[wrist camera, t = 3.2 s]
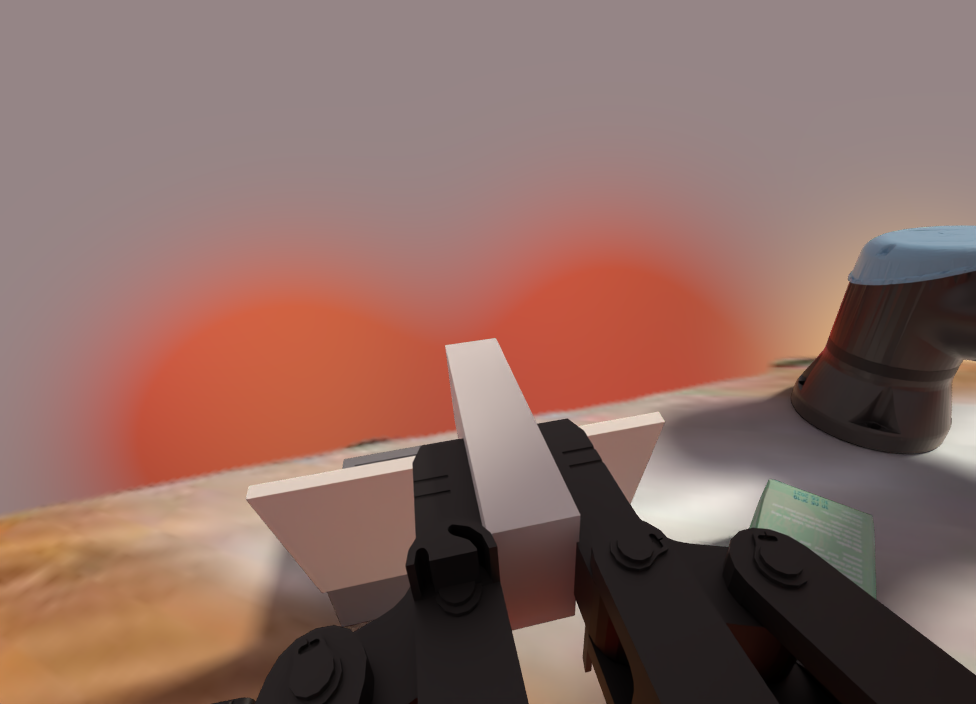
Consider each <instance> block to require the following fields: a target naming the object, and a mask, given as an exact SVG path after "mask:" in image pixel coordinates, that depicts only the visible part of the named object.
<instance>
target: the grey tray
mask: <svg viewBox="0 0 976 704" xmlns="http://www.w3.org/2000/svg"><path fill="white" fill-rule="evenodd" d="M455 440H456V439H455ZM450 441H451V440H450ZM444 442H445V441H444ZM433 444H434V443H433ZM427 445H428V444H427ZM419 448H420V446H416V447H411V448H405V449H399V450H394V451H388V452H383V453H377V454H371V455H366V456H360V457H355V458H349V459H344V462H343V468H342V469H345V468H351V467H356V466H362V465H367V464H373V463H378V462H384V461H389V460H395V459H400V458H406V457H411V456H416V454H417V452H418V450H419ZM409 588H410V583H409V579H408V575H407V574H406V575H401V576H397V577H392V578H388V579H383V580H378V581H374V582H369V583H365V584H360V585H356V586H351V587H346V588H342V589H337V590H333V591H328V592H327V593H328V595H329V597H330V600H331V602H332V605H333V607H334V609H335V612H336V614H337V617H338V619H339V621H340V624H341V626H342V627H345V626H349V625H353V624H358V623H362V622H366V621H371V620H375V619H377V618H379V617H380V616H382V615H383V614H385V613H386V612H388V611H389V610H390V609H392V608H393V607H394V606H395V605H396V604H397V603H398V602H399V601H400V600H401V599H402V598H403V597H404V596H405V594H406V592H407V591H408V589H409Z"/></svg>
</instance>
